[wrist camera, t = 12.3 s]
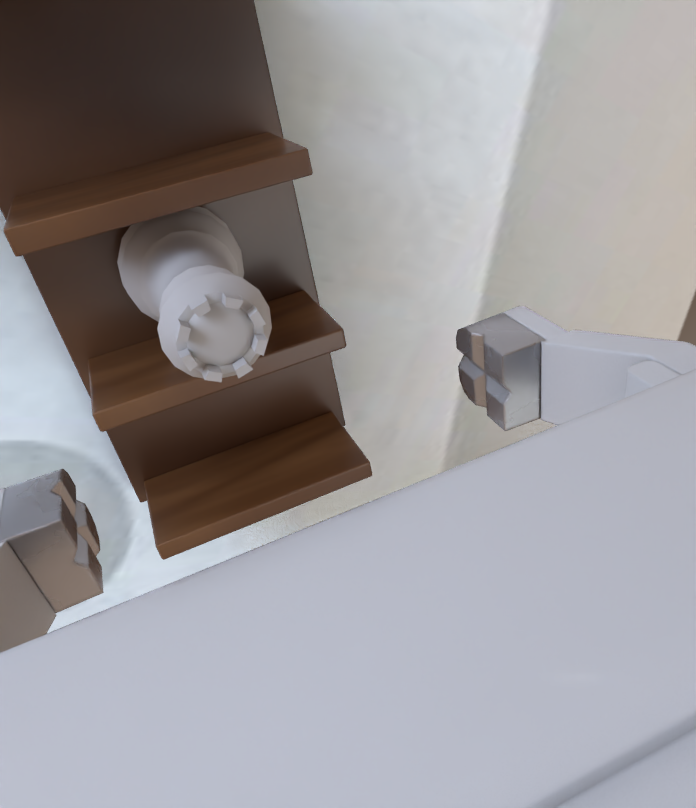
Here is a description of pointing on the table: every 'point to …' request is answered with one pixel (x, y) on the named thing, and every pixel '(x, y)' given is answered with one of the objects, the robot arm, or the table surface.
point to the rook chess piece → (196, 293)
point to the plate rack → (155, 197)
